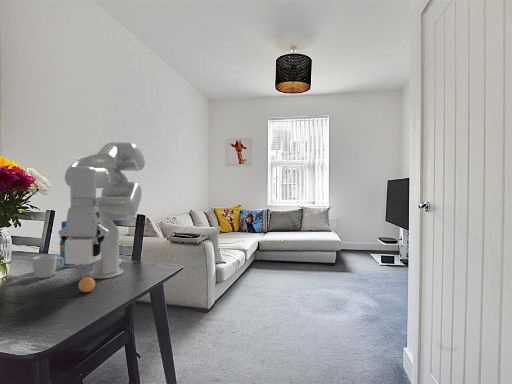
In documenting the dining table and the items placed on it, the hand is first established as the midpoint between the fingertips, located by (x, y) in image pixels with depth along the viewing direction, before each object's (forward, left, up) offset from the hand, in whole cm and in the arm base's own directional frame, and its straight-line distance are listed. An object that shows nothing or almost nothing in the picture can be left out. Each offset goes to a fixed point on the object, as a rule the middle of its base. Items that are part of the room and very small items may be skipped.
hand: (84, 255), depth 103 cm
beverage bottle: (-35, -26, -13) cm, 46 cm away
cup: (-19, -25, -13) cm, 34 cm away
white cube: (0, 0, -2) cm, 2 cm away
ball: (-1, 0, -10) cm, 11 cm away
